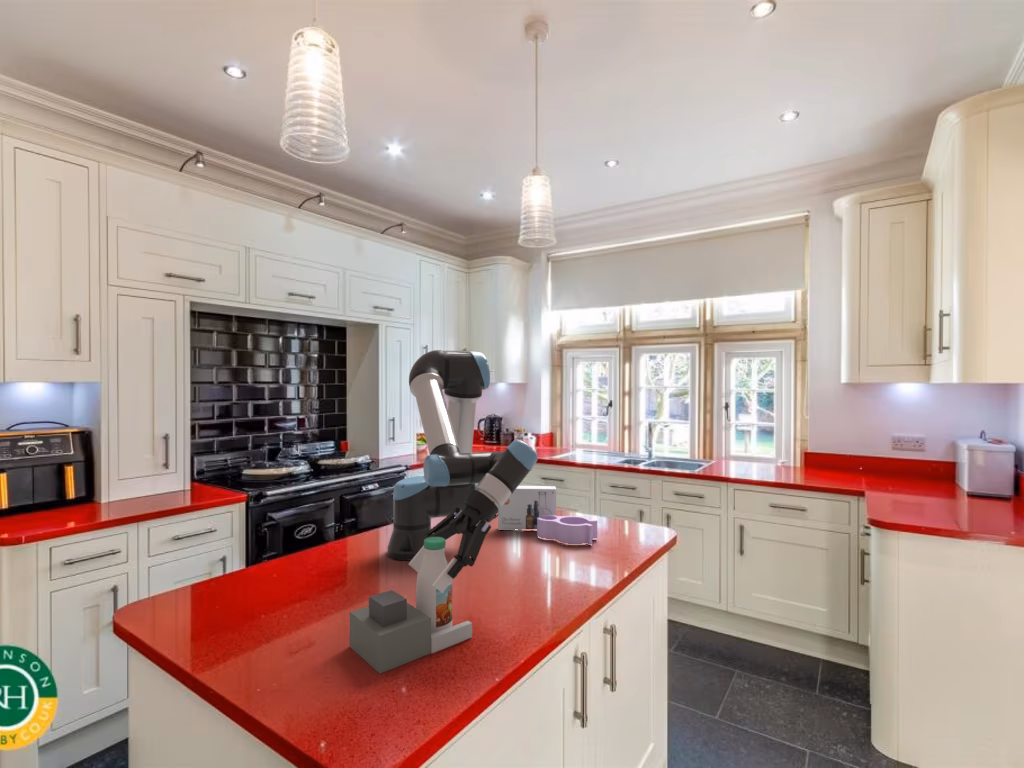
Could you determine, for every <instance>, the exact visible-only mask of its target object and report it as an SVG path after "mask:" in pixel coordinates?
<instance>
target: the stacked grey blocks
mask: <svg viewBox="0 0 1024 768" xmlns="http://www.w3.org/2000/svg"><path fill="white" fill-rule="evenodd" d="M407 599H408V598H406V597H404V596H402V595H401V594H399V593H397V592H396V591H395V590H393V589H390V590H387V591H384V592H380V593H376V594H372V595H369V596H368V606H365V607H362V608H358V609H356V610H355V609H354V610H352V611H349V647H350V648H351V650H353V651H354V652H355V653H356V654H357V655H358V656H359V657H360V658H362V659H363V660H364V661H365V662H366V664H367V663H368V664H369V666H371V668H373V669H374V670H375V671H376V672H377V673H378V674H382V673H383V674H384V673H385V672H388V671H390V670H393V669H395V668H398V667H400V666H403V665H404V664H407V663H410V662H413V661H415V660H418V659H419V658H422V657H425V656H428V655H430V654H431V655H432V654H435V653H437V652H439V651H442V650H444V649H447V648H450V647H452V646H454V645H457V644H459V643H462V642H464V641H466V640H469V639H471V638H473V623H472V622H471V621H469V620H466V621H464V622H461V623H458V624H456V625H452V627H449V628H447V629H444V630H441V631H439V632H436V633H433V634H431V617H429V616H427V615H426V614H424V613H423V612H421V611H420V610H418V609H416V606H413V605H412V604H411V603H408V600H407Z"/></svg>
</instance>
